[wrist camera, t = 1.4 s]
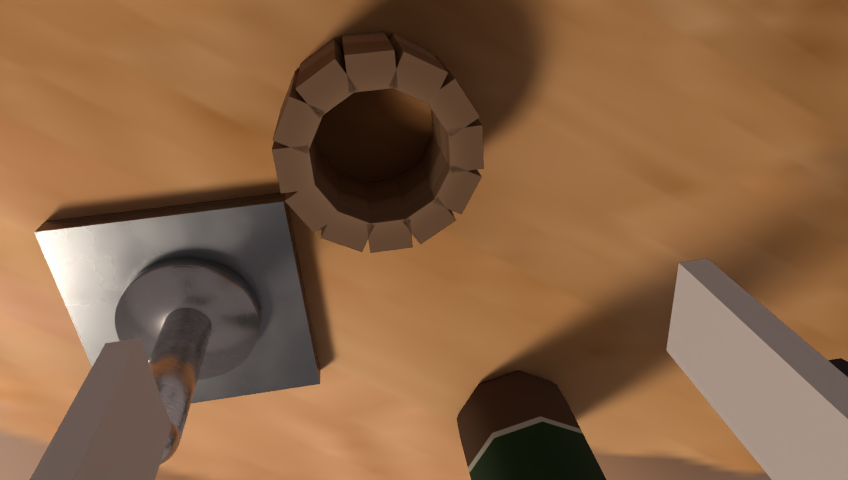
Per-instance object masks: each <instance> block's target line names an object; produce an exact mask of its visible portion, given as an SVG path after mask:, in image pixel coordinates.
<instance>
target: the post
mask: <svg viewBox="0 0 848 480" xmlns="http://www.w3.org/2000/svg"><path fill="white" fill-rule="evenodd" d="M285 197H286V196H285V193H277V194H268V195H260V196H252V197H244V198H236V199H227V200H219V201H211V202H203V203H194V204H186V205H178V206H170V207H162V208H153V209H145V210H137V211H129V212H121V213H112V214H104V215H96V216H88V217H79V218H71V219H63V220H55V221H47V222H44V223H43V224H42V225H41V226H40V227H39V228H38V229H37V230H36V231H35V235H36V237H37V239H38V242H39V244H40V246H41V249H42V251H43V253H44V256H45V258H46V260H47V263H48V265H49V267H50V270H51V272H52V274H53V277H54V279H55V281H56V284H57V286H58V288H59V291H60V293H61V295H62V298H63V300H64V302H65V305H66V307H67V309H68V312H69V314H70V316H71V319H72V321H73V323H74V326H75V328H76V330H77V333H78V335H79V337H80V340H81V342H82V344H83V347H84V349H85V351H86V354H87V356H88V358H89V361H90V363H91V365H92V367H93V365H94V363H95V361H96V359H97V358H98V356H99V354H100V352H101V350H102V349H103V347H104V345H105V343H111V342H118V341H125V340H132V339H139V338H140V340H141V343H142V346H143V348H144V351H145V354H146V357H147V360H148V362H149V365H150V368H151V371H152V373H153V376H154V379H155V382H156V384H157V387H158V390H159V393H160V395H161V398H162V401H163V404H164V406H165V409H166V412H167V415H168V417H169V420H170V423H171V426H172V428H171V431H170V434H169V437H168V440H167V444H166V447H165V450H164V453H163V456H162V459H161V462H160V464H162V463H164V462H165V461H167V460H168V459H169V458H170V457H171V456H172V455H173V454H174V453H175V451H176V449H177V448H178V445H179V442H180V439H181V436H182V432H183V429H184V425H185V422H186V418H187V415H188V411H189V408H190V404H191V403H197V402H203V401H210V400H216V399H223V398H229V397H236V396H243V395H249V394H256V393H262V392H269V391H276V390H282V389H289V388H295V387H302V386H308V385H315V384H320V367H319V362H318V357H317V352H316V347H315V342H314V337H313V332H312V327H311V322H310V317H309V312H308V306H307V301H306V296H305V291H304V286H303V281H302V276H301V271H300V266H299V261H298V256H297V251H296V246H295V241H294V236H293V231H292V226H291V221H290V216H289V211H288V206H287V203H286V202H285Z"/></svg>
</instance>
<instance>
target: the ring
mask: <svg viewBox="0 0 848 480" xmlns="http://www.w3.org/2000/svg"><path fill="white" fill-rule="evenodd" d="M342 42H343V49H344V52H343V50H342V49H341V48H340V46H339V45H338V44H337V42H336V41H335V40H334V39H333V40H331V41H330V42H329V43H327V44H326V45H325V46H324V47H322V48H321V49H320V50H318V51H317V52H316V53H314V54H313V55H312V56H310V57H309V58H308V59H306V60H305V61H304V62H302V63H301V64H300V68H299V72H297V71H295V73H294V76H293V78H292V81H291V84H290V86H289V89H288V92H287V94H286V97H285V99H284V102H283V105H282V107H281V111H280V114H279V118H278V122H277V126H276V130H275V133H274V137H273V141H274V143H273V147H272V152H273V157H274V162H275V167H276V172H277V177H278V182H279V187H280V192H281V193H286V197H285V202H286V203H287V204H288V205H289V206H290V207H291V209H292V210H293V211H294V212H295V213H296V214H297V215H298V216H299V217H300V218H301V219H302V221H303V222H304V223H305V224H306V225H307V226H308V227H309V228H310V229H311V230H312V232H313V233H315V232H317V231H318V230H319V229H321V238H323V239H326V240H329V241H331V242H334V243H337V244H340V245H343V246H346V247H349V248H352V249H355V250H357V251H360V252H362V251H363V249H364V247H365V245H366V242H367V240H368V239H369V246H370V253H373V252H381V251H388V250H396V249H403V248H411V247H413V245H412V234H413V235H414V237H415V238H416V239H417V240H418V242H419V243H420V244H422V243H423V242H425V241H426V240H428V239H429V238H431V237H432V236H434V235H435V234H437V233H438V232H440V231H441V230H443V229H444V228H446V227H447V226H448V225H450V224H451V223H453V222H454V221H456V220H455V218H454V215H453V213H452V211H454V212H457V213H459V214H462V213H463V211H464V209H465V207H466V205H467V203H468V201H469V200H470V198H471V196H472V194H473V192H474V190H475V188H476V187H477V185H478V183H479V181H480V179H481V175H480V173H479V172H478V170H477V169H484V162H483V125H482V124H481V123H480V122H479V120H478V118H479V117H480V116H479V115H478V113H477V112H476V110H475V109H474V107H473V105H472V104H471V102H470V101H469V99H468V98H467V96H466V95H465V93H464V92H463V90H462V89H461V87H460V85H459V84H458V82H457V81H456V79H455V78H454V77H453V76H452V75H451V73H450V72H449V71H448V70H447V69H446V68H445V66H444V65H443V64H442V63H441V62H440V61H439V59H438V58H437V57H436V56H435V57H434V55H433V54H432V53H431V52H430V51H429V50H427V49H425V48H423V47H421V46H419V45H416V44H414V43H412V42H410V41H408V40H406V39H404V38H402V37H400V36H398V35H396V34H394V33H392V35H391V37H390V39H388V38H387V36H386V34H385V32H384V31H383V32H373V33H363V34H352V35H342ZM390 88H394V89H396V90H398V91H401V92H403V93H405V94H407V95H409V96H412V97H414V98H416V99H418V100H421V101H423V102H425V103H427V104H428V105H429V106H430V107H431V112H432V127H433V136H432V138H431V140H430V142H429V144H428V146H427V148H426V150H425V152H424V154H423V156H422V158H421V160H420V162H419V163H417V164H416V165H414V166H413V167H412V168H410V169H409V170H407V171H406V172H404V173H403V174H402V175H400V176H399V177H397V178H396V179H392V180H383V181H375V182H367V183H364V182H362V181H359V180H356V179H354V178H351V177H349V176H346V175H344V174H341V173H338V172H336V171H335V169H334V168H333V167H332V166H331V165H330V163H329V162H328V161H327V160H326V159H325V157H324V156H323V155H322V154H321V153H320V151H319V150H318V149H317V147H316V141H315V133H316V131H317V129H318V126H319V124H320V121H321V119H322V116H323V115H324V114H325V113H327V112H328V111H330V110H331V109H332V108H334V107H335V106H336V105H338V104H339V103H340V102H342V101H343V100H344V99H346V98H347V97H349V96H350V95H351V94H353V93H354V92H362V91H372V90H381V89H390ZM451 210H452V211H451ZM411 233H412V234H411Z"/></svg>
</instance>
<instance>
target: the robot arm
mask: <svg viewBox="0 0 848 480" xmlns="http://www.w3.org/2000/svg"><path fill="white" fill-rule="evenodd" d="M666 351H667V352H668V353H669V354H670V356H671V357H672V358H673V359H674V360H675V362H676V363H677V364H678V365H679V367H680V368H681V369H682V370H683V371H684V373H685V374H686V375H687V376H688V378H689V379H690V380H691V381H692V382H693V384H694V385H695V386H696V387H697V389H698V390H699V391H700V392H701V393H702V395H703V396H704V397H705V398H706V400H707V401H708V402H709V403H710V404H711V406H712V407H713V408H714V409H715V411H716V412H717V413H718V414H719V415H720V417H721V418H722V419H723V420H724V422H725V423H726V424H727V425H728V426H729V428H730V429H731V430H732V431H733V433H734V434H735V435H736V436H737V437H738V439H739V440H740V441H741V442H742V444H743V445H744V446H745V447H746V448H747V450H748V451H749V452H750V453H751V455H752V456H753V457H754V458H755V459H756V461H757V462H758V463H759V464H760V466H761V467H762V468H763V469H764V470H765V472H766V473H767V474H768V475H769V477H770V478H771V479H772V480H848V362H847V361H845V360H843V359H841V358H840V359H834V360H827V359H826V358H824V357H823V356H822V355H821V354H820V353H819V352H817V351H816V350H815V349H814V348H813V347H811V346H810V345H809V344H808V343H807V342H806V341H804V340H803V339H802V338H801V337H800V336H798V335H797V334H796V333H795V332H794V331H793V330H791V329H790V328H789V327H788V326H787V325H785V324H784V323H783V322H782V321H781V320H780V319H778V318H777V317H776V316H775V315H774V314H772V313H771V312H770V311H769V310H768V309H767V308H765V307H764V306H763V305H762V304H761V303H759V302H758V301H757V300H756V299H755V298H754V297H752V296H751V295H750V294H749V293H748V292H746V291H745V290H744V289H743V288H742V287H741V286H739V285H738V284H737V283H736V282H735V281H733V280H732V279H731V278H730V277H729V276H728V275H726V274H725V273H724V272H723V271H722V270H720V269H719V268H718V267H717V266H716V265H715V264H713V263H712V262H711V261H710V260H709V259H702V260H695V261H687V262H680V263H679V265H678V272H677V279H676V286H675V293H674V300H673V307H672V314H671V321H670V328H669V335H668V342H667V349H666ZM171 428H172V426H171V423H170V420H169V417H168V415H167V412H166V409H165V406H164V404H163V401H162V398H161V395H160V393H159V390H158V387H157V384H156V382H155V379H154V376H153V373H152V371H151V368H150V365H149V362H148V360H147V357H146V354H145V351H144V348H143V346H142V343H141V340H140V338H139V339H132V340H125V341H118V342H111V343H105V345H104V347H103V349H102V350H101V352H100V354H99V356H98V358H97V359H96V361H95V363H94V365H93V367H92V368H91V370H90V372H89V374H88V376H87V377H86V379H85V381H84V383H83V385H82V386H81V388H80V390H79V392H78V394H77V395H76V397H75V399H74V401H73V403H72V405H71V406H70V408H69V410H68V412H67V414H66V415H65V417H64V419H63V421H62V423H61V424H60V426H59V428H58V430H57V432H56V433H55V435H54V437H53V439H52V441H51V442H50V444H49V446H48V448H47V450H46V451H45V453H44V455H43V457H42V459H41V461H40V463H39V464H38V466H37V468H36V470H35V472H34V473H33V475H32V477H31V479H30V480H155V478H156V475H157V471H158V468H159V465H160V462H161V459H162V456H163V453H164V450H165V447H166V444H167V440H168V437H169V434H170V431H171Z"/></svg>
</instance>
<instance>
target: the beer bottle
mask: <svg viewBox="0 0 848 480" xmlns="http://www.w3.org/2000/svg"><path fill="white" fill-rule="evenodd" d="M457 422H458V428H459V433H460V438H461V442H462V446H463V450H464V454H465V458H466V461H467V465H468V469H469V473H470V477H471V480H606V478H605V476H604V474H603V472H602V470H601V469H600V466H599V464H598V463H597V461H596V459H595V457H594V455H593V453H592V451H591V449H590V447H589V445H588V443H587V441H586V439H585V437H584V435H583V433H582V431H581V429H580V427H579V425H578V423H577V421H576V419H575V417H574V415H573V413H572V411H571V409H570V407H569V405H568V403H567V402H566V400H565V398H564V397H563V395H562V393H561V392H560V390H559V388H558V387H557V385H556V384H554V383H553V382H550V381H547V380H544V379H541V378H538V377H535V376H532V375H529V374H526V373H523V372H520V371H516V372H513V373H510V374H507V375H504V376H501V377H499V378H496V379H493V380H490V381H487V382H484V383H481V384H478V386H477V387H476V389H475V390H474V392H473V393H472V395H471V396H470V398H469V399H468V401H467V402H466V404H465V405H464V407H463V408H462V410H461V411H460V413H459V414H458V417H457Z"/></svg>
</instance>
